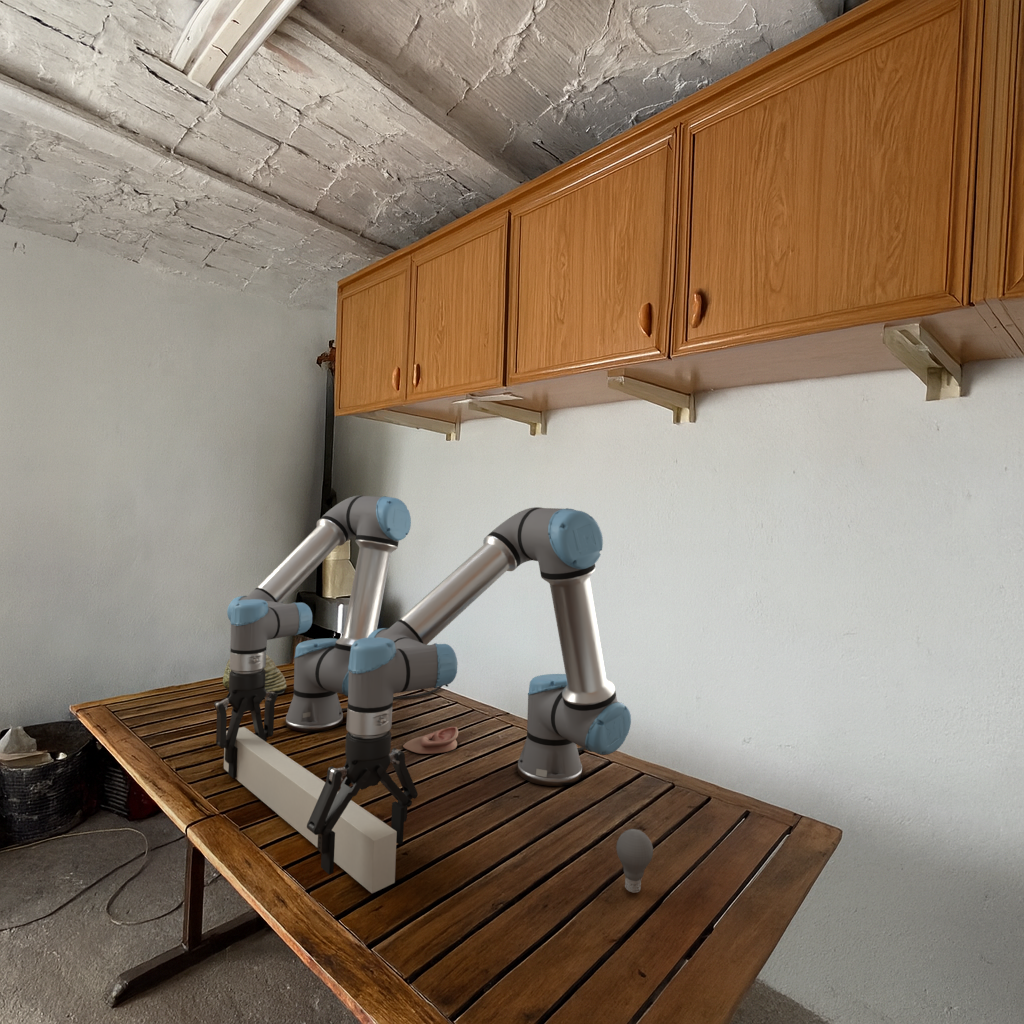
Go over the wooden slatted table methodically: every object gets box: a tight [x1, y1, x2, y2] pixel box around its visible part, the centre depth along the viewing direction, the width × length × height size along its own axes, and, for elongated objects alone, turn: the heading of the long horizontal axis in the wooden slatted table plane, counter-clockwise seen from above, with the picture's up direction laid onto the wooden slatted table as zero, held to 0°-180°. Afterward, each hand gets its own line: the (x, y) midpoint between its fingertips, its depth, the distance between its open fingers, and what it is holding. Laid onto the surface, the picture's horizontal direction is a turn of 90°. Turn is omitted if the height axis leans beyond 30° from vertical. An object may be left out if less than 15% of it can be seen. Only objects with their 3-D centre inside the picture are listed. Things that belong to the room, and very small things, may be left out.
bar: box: [223, 726, 397, 894], centre depth 125 cm, size 61×4×9 cm, turn 45°
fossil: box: [222, 653, 288, 695], centre depth 198 cm, size 9×18×15 cm, turn 132°
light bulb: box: [615, 828, 654, 894], centre depth 106 cm, size 6×6×10 cm
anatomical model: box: [402, 726, 459, 755], centre depth 163 cm, size 13×4×12 cm
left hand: (244, 772), depth 142 cm, fingers closed on bar, 4 cm apart
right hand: (363, 855), depth 108 cm, fingers open, 13 cm apart
